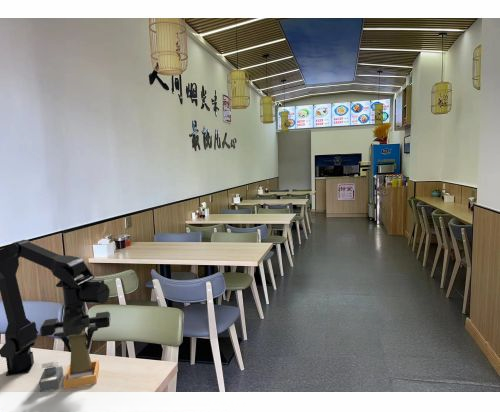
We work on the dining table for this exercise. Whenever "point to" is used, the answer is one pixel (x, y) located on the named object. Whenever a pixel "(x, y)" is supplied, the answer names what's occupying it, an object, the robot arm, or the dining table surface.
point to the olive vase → (79, 353)
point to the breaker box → (51, 378)
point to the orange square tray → (82, 376)
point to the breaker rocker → (49, 364)
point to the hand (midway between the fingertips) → (79, 350)
